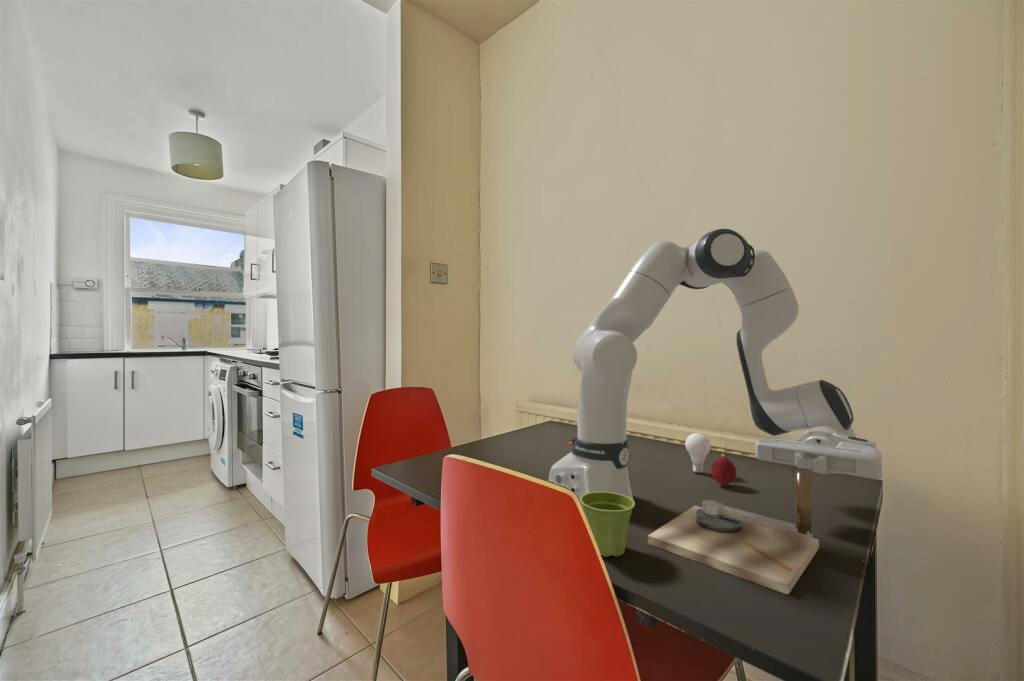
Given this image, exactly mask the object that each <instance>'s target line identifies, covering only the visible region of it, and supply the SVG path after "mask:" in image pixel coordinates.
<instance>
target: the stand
mask: <svg viewBox="0 0 1024 681" xmlns="http://www.w3.org/2000/svg"><path fill="white" fill-rule="evenodd" d="M699 509H702V507H701V506H697V505H694V506H692V507H691V508H688V509H687V510H686V511H684V512H682V513H680V514H679V515H678V516H676V517H674V518H673V519H672V520H669V522H667V523H665V524H664V525H662V526H660V527H659V528H657V529H656V530H654V531H653V532H651V533H649V534H648V535H647V545H650V546H653V547H656V548H659V549H662V550H664V551H666V552H670V553H671V554H672V553H673V554H675V555H678V556H680V557H683V558H686V559H688V560H692V561H695V562H697V563H700V564H702V565H705V566H708V567H711V568H713V569H716V570H719V571H722V572H723V573H727V574H730V575H733V576H736V577H738V578H741V579H744V580H746V581H748V582H752V583H754V584H757V585H760V586H763V587H766V588H768V589H770V590H771V589H772V590H774V591H777V592H780V593H781V594H784V595H787V594H788V595H790V593H791V591H792V590H793V588H794V586H796V584H797V582H798V581H799V579H800V578H801V576H802V575H803V573H804V571H805V570H806V568H807V567H808V566H809V564H810V563H811V562H812V559H813V558H814V557H815V555H816V554H817V552H818V551H819V549H820V539H817V538H814V537H811V538H810V540H809V539H806V538H802V537H799V536H795V535H791V534H788V533H784V532H781V531H777V530H773V529H770V528H766V527H763V526H759V525H755V524H752V523H748V522H744V521H743V528H742V529H741V530H740V531H737V532H719V531H714V530H711V529H708V528H705V527H703V526H701V525H700V524H698V522H697V521H696V511H697V510H699Z"/></svg>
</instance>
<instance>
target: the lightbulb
mask: <svg viewBox="0 0 1024 681" xmlns="http://www.w3.org/2000/svg"><path fill="white" fill-rule="evenodd" d="M684 443H685V449H686V450H687V452H688V454H689V455H690V459H691V461H692V471H693V472H694V473H696V474H701V473H703V472H704V462H705V458H706V456H707V455H708V454H709V452H710V450H711V442H710V440H709V438H708V436H706V435H705V434H702V433H699V432H694V433H690V434H689V435H688V436H687V438H686V439H685V442H684Z"/></svg>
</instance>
